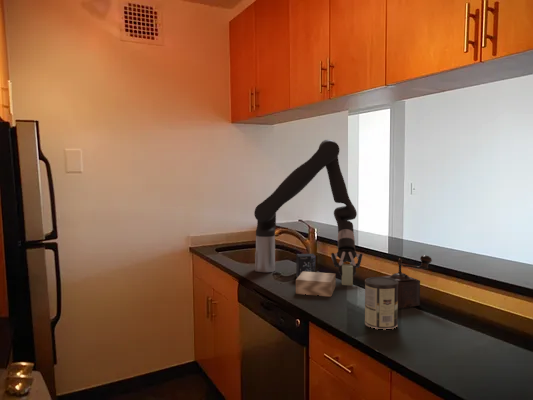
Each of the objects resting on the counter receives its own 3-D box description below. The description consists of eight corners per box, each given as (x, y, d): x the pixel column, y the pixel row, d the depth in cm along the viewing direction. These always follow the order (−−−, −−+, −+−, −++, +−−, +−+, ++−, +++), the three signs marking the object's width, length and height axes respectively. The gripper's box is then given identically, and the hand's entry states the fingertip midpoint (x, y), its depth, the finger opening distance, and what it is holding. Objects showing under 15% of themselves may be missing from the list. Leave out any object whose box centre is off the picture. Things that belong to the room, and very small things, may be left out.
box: (298, 279, 186) (298, 256, 185) (296, 276, 192) (296, 253, 191) (315, 279, 187) (315, 255, 187) (312, 275, 193) (312, 253, 192)
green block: (341, 285, 177) (342, 266, 177) (341, 282, 182) (341, 264, 181) (352, 285, 177) (352, 266, 176) (352, 282, 181) (352, 264, 181)
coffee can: (379, 316, 140) (380, 275, 139) (404, 326, 131) (405, 282, 130) (357, 322, 134) (357, 279, 133) (381, 333, 126) (382, 287, 125)
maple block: (295, 294, 165) (295, 279, 165) (302, 285, 179) (302, 271, 178) (331, 297, 162) (331, 282, 161) (335, 287, 175) (335, 273, 174)
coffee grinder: (398, 310, 146) (399, 259, 145) (378, 300, 156) (379, 253, 155) (433, 304, 152) (434, 255, 150) (412, 296, 162) (413, 250, 160)
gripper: (330, 236, 186) (330, 269, 175) (362, 237, 184) (365, 270, 173) (330, 246, 192) (330, 278, 181) (361, 246, 190) (363, 279, 179)
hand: (347, 274), depth 177 cm, fingers closed on green block, 4 cm apart
